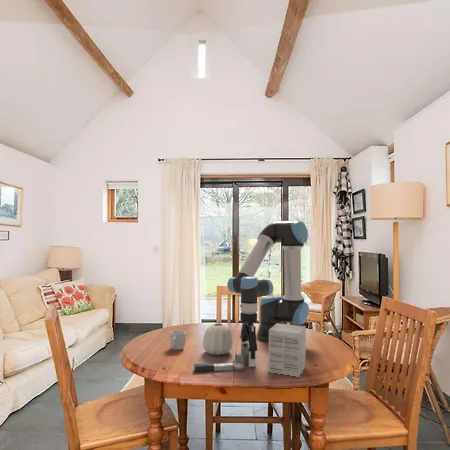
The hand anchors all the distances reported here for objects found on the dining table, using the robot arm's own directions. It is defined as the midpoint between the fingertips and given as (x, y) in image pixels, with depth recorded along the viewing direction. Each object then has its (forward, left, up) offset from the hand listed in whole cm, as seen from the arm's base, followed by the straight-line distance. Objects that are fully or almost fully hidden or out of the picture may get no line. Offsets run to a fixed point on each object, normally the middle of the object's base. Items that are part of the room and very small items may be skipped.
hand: (248, 361), depth 157 cm
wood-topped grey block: (0, 0, -1) cm, 1 cm away
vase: (+11, -15, -1) cm, 19 cm away
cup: (+30, -23, -1) cm, 38 cm away
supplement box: (-14, +11, -1) cm, 18 cm away
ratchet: (+14, +7, -1) cm, 16 cm away
